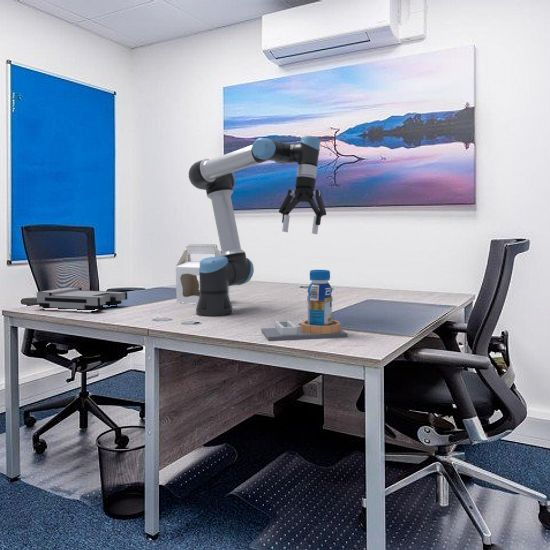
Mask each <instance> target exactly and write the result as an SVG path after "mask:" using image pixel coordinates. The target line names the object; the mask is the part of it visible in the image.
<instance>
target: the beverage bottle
mask: <svg viewBox="0 0 550 550" xmlns="http://www.w3.org/2000/svg"><path fill="white" fill-rule="evenodd" d="M330 279H331V270H330V269H329V270H328V269H311V270H309V281H311V282H310V284H309V285H308V287H307V294H308V295H307V298H306V301H307V320H308V325H314V326H330V325H332V320H333V318H332V317H333V316H332V315H333V295H332V293H333V288H332V286H331V284H330V282H329V281H330Z"/></svg>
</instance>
